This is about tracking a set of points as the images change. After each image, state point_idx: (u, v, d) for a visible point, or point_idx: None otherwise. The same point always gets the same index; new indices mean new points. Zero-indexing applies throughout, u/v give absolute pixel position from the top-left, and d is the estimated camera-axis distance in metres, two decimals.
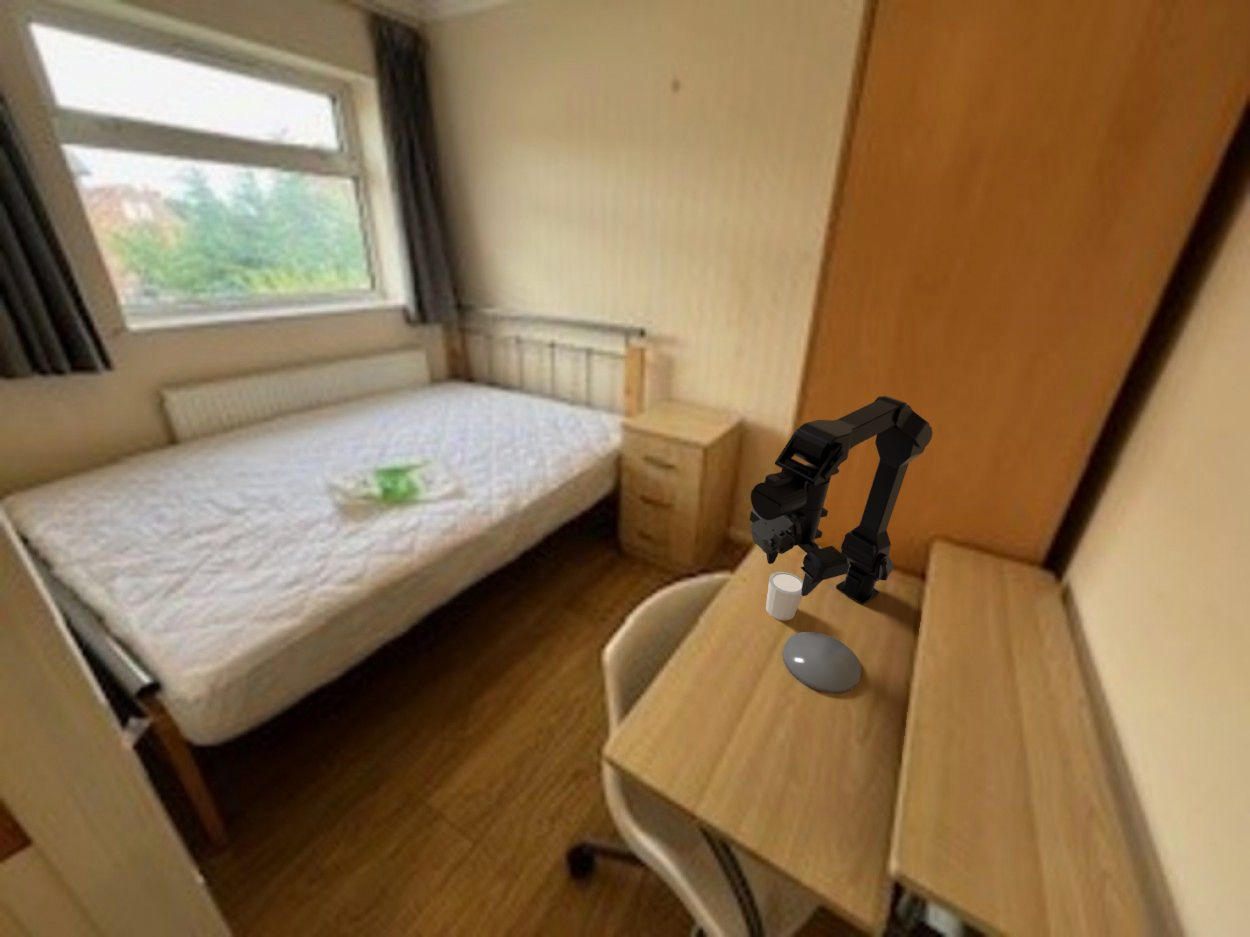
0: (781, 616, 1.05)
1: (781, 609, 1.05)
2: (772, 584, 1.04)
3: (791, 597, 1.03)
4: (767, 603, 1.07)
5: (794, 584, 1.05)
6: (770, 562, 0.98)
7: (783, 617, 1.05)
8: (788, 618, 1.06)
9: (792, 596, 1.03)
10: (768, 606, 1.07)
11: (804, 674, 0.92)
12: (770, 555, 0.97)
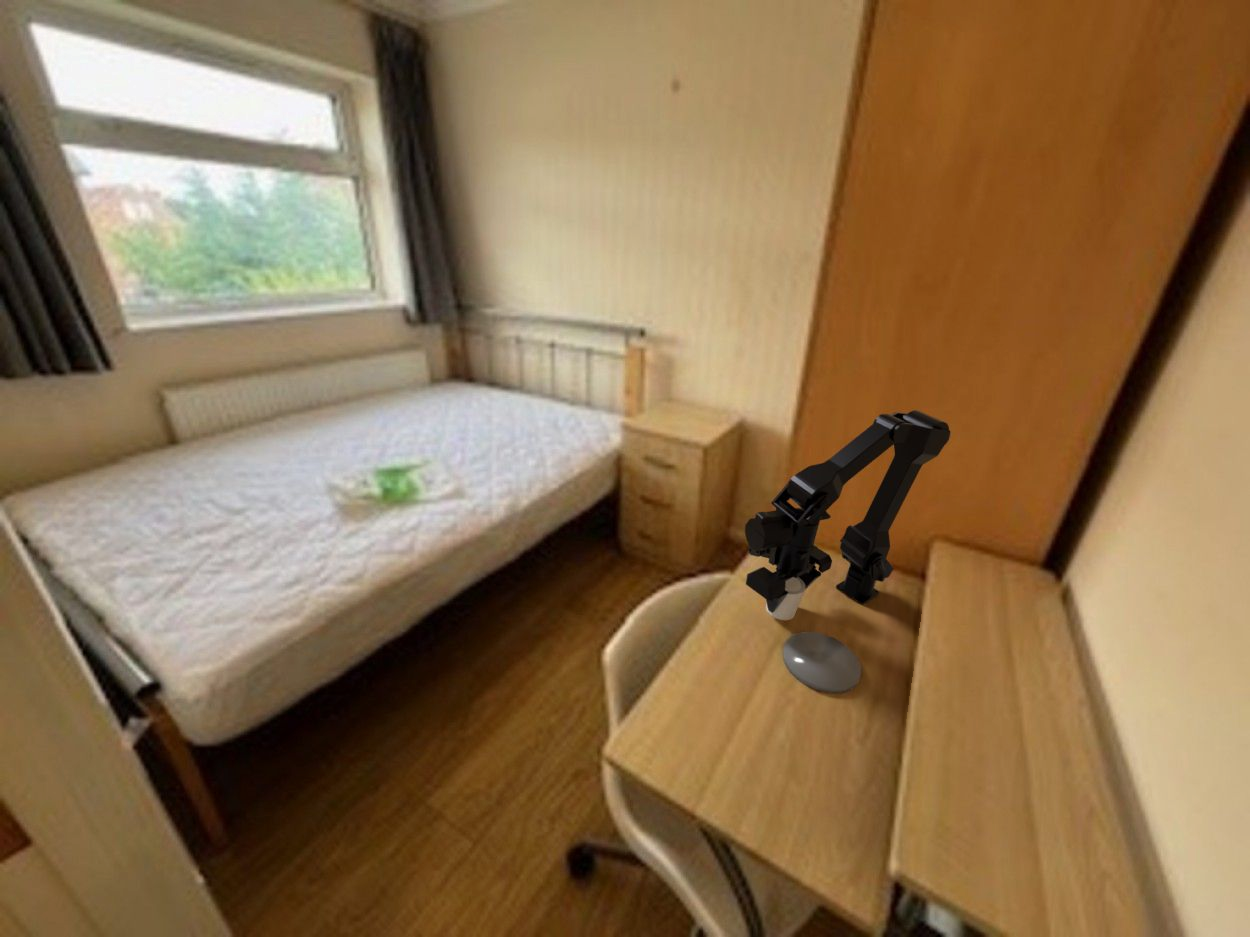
0: (781, 616, 1.05)
1: (781, 609, 1.05)
2: None
3: (791, 597, 1.03)
4: None
5: (794, 584, 1.05)
6: None
7: (783, 617, 1.05)
8: (788, 618, 1.06)
9: (792, 596, 1.03)
10: None
11: (804, 674, 0.92)
12: None
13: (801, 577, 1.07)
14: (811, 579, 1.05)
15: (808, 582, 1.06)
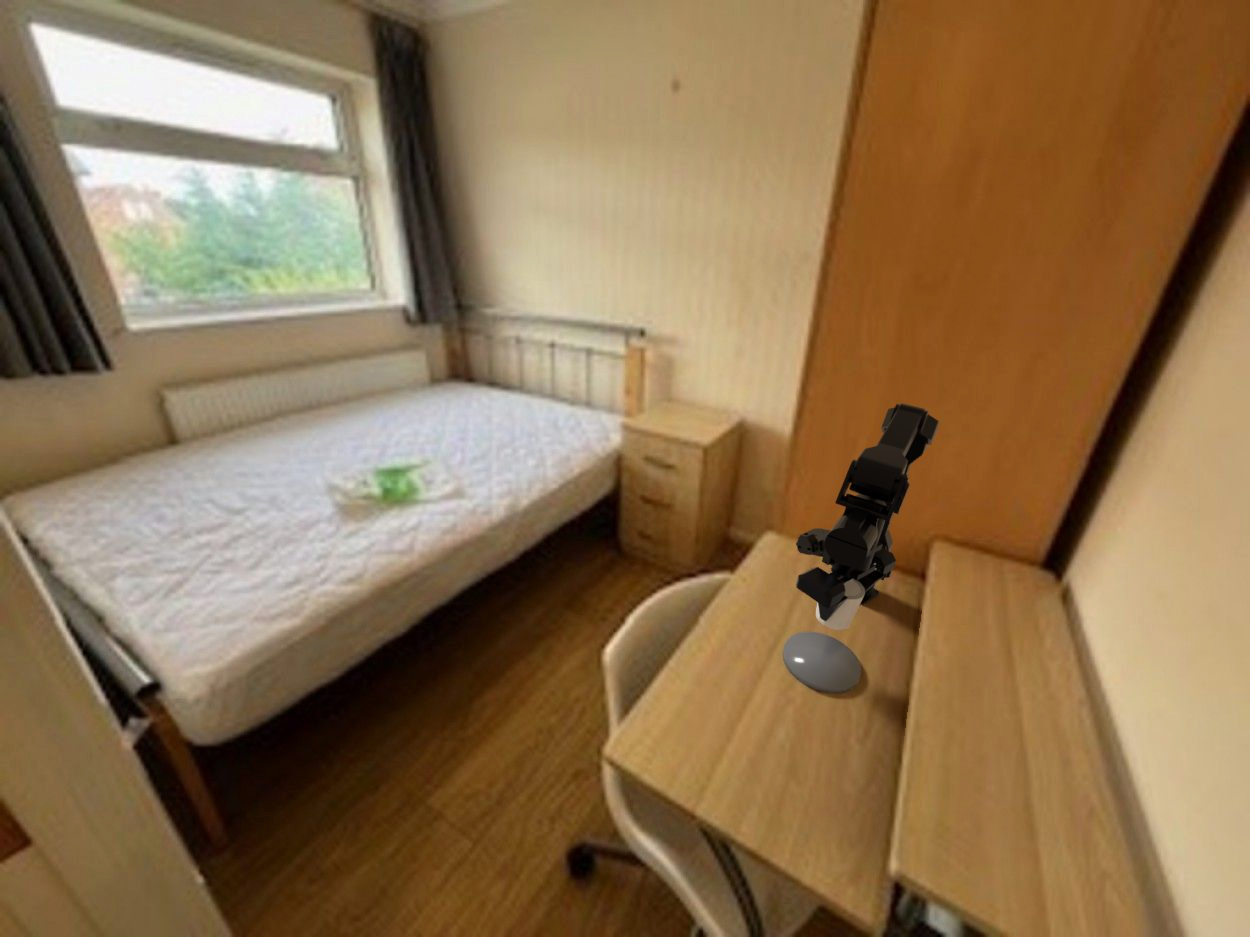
0: (836, 625, 0.89)
1: (836, 617, 0.88)
2: None
3: (849, 603, 0.86)
4: (818, 609, 0.91)
5: (851, 587, 0.89)
6: None
7: (838, 626, 0.89)
8: (844, 627, 0.89)
9: (850, 602, 0.86)
10: (819, 613, 0.91)
11: (804, 674, 0.92)
12: None
13: (859, 579, 0.91)
14: (872, 582, 0.89)
15: (868, 585, 0.89)
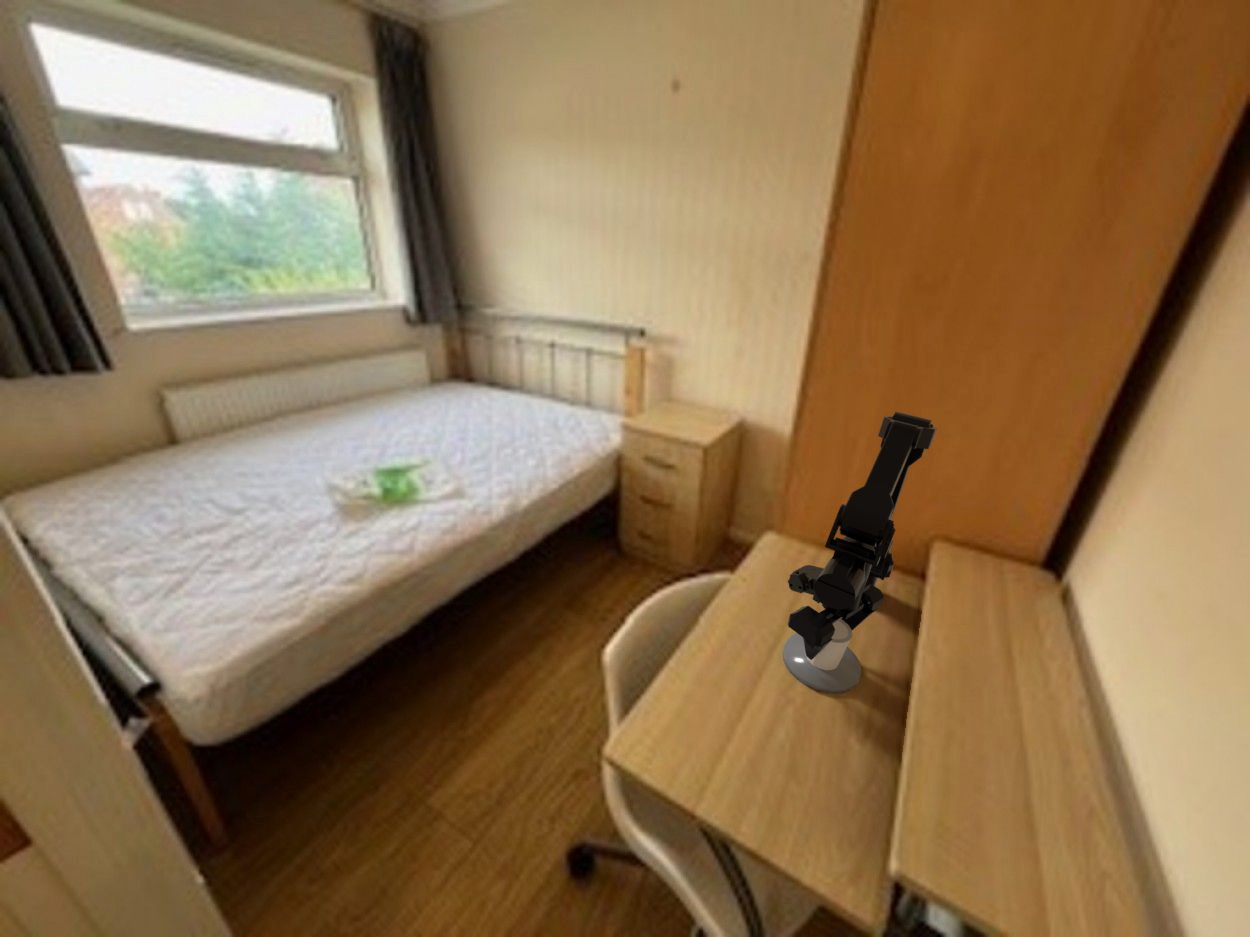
0: (825, 666, 0.93)
1: (825, 658, 0.92)
2: None
3: (837, 646, 0.90)
4: None
5: (839, 630, 0.93)
6: None
7: (827, 667, 0.93)
8: (832, 668, 0.93)
9: (838, 645, 0.90)
10: None
11: (804, 674, 0.92)
12: None
13: None
14: (865, 615, 0.93)
15: (861, 618, 0.93)
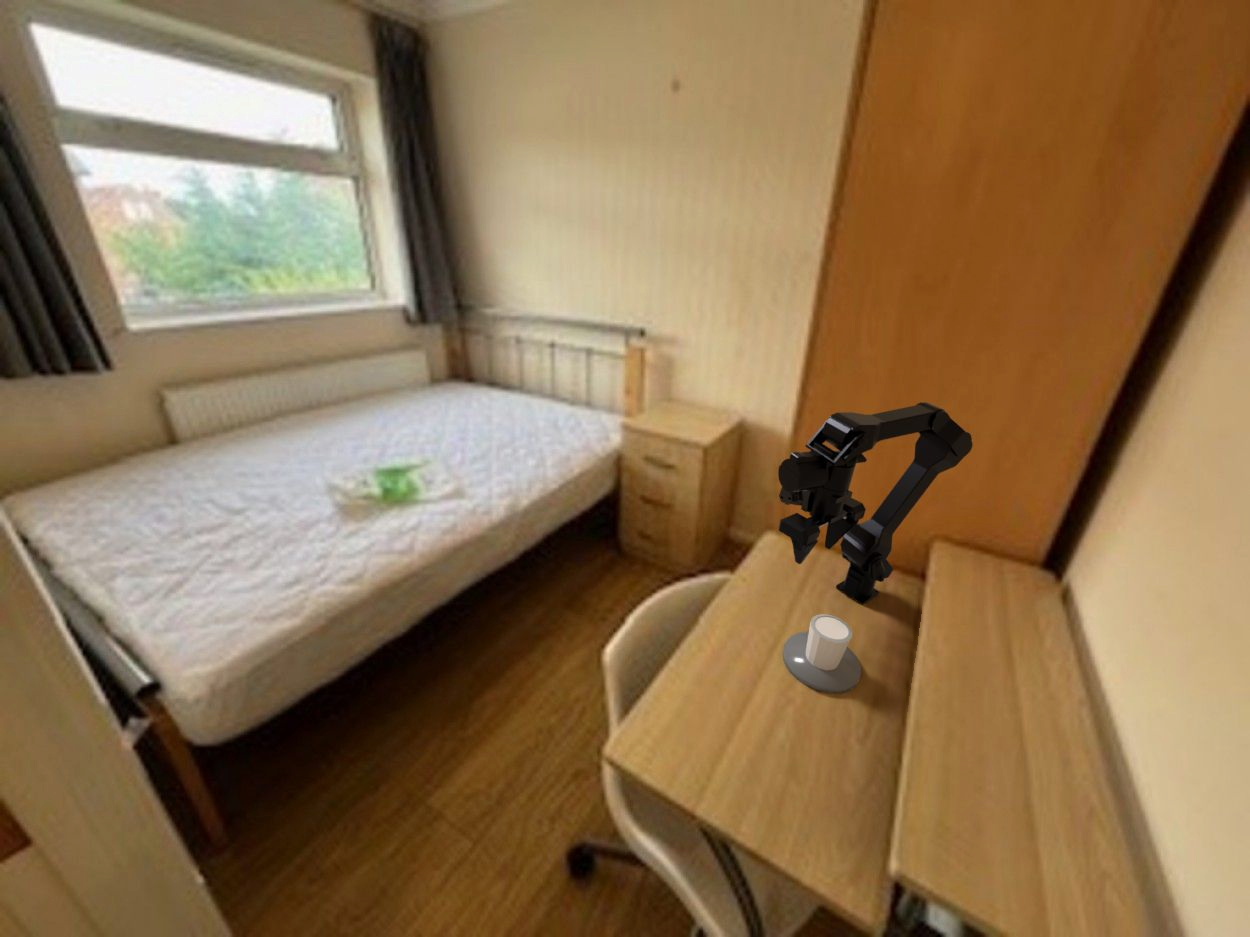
0: (825, 666, 0.93)
1: (825, 658, 0.92)
2: (815, 630, 0.92)
3: (837, 645, 0.90)
4: (808, 650, 0.95)
5: (839, 629, 0.93)
6: (826, 546, 1.07)
7: (827, 667, 0.93)
8: (832, 668, 0.93)
9: (838, 645, 0.90)
10: (809, 654, 0.95)
11: (804, 674, 0.92)
12: (826, 538, 1.07)
13: (838, 524, 1.05)
14: (848, 525, 1.03)
15: (845, 529, 1.04)
